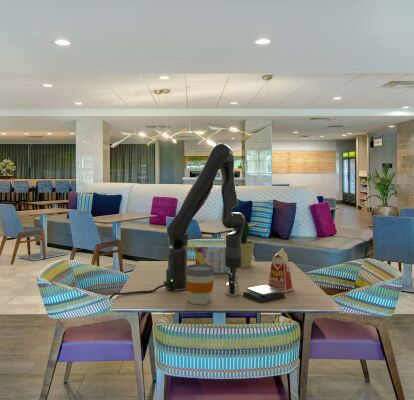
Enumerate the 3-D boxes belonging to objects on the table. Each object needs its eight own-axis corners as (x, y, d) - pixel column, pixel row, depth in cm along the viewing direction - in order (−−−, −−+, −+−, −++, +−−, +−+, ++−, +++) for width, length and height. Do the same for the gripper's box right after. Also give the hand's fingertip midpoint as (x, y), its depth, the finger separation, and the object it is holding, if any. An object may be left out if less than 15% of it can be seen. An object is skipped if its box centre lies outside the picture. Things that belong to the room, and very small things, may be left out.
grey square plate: (262, 295, 176) (262, 293, 176) (246, 289, 185) (246, 288, 185) (281, 292, 181) (281, 290, 181) (264, 286, 191) (264, 284, 191)
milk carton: (276, 286, 202) (276, 246, 201) (293, 289, 196) (293, 248, 195) (267, 290, 195) (267, 248, 194) (284, 293, 189) (285, 250, 188)
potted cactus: (255, 263, 256) (256, 216, 254) (252, 268, 241) (253, 218, 239) (231, 262, 260) (231, 215, 258) (227, 267, 245) (227, 217, 244)
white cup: (231, 296, 184) (231, 285, 184) (223, 293, 189) (224, 282, 189) (242, 294, 187) (242, 284, 187) (234, 291, 192) (234, 281, 192)
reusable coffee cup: (212, 296, 184) (213, 264, 183) (215, 305, 171) (215, 270, 170) (185, 297, 183) (185, 264, 182) (185, 305, 171) (185, 270, 170)
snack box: (232, 271, 234) (232, 245, 233) (232, 273, 228) (232, 247, 228) (196, 270, 236) (196, 245, 235) (195, 272, 230) (195, 246, 230)
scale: (260, 302, 175) (261, 296, 174) (243, 296, 185) (243, 290, 185) (284, 297, 182) (284, 291, 182) (266, 291, 192) (266, 285, 192)
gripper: (227, 252, 195) (227, 287, 196) (222, 258, 181) (222, 295, 182) (243, 253, 193) (242, 288, 194) (239, 259, 179) (239, 296, 180)
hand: (233, 291), depth 188 cm, fingers closed on white cup, 6 cm apart
